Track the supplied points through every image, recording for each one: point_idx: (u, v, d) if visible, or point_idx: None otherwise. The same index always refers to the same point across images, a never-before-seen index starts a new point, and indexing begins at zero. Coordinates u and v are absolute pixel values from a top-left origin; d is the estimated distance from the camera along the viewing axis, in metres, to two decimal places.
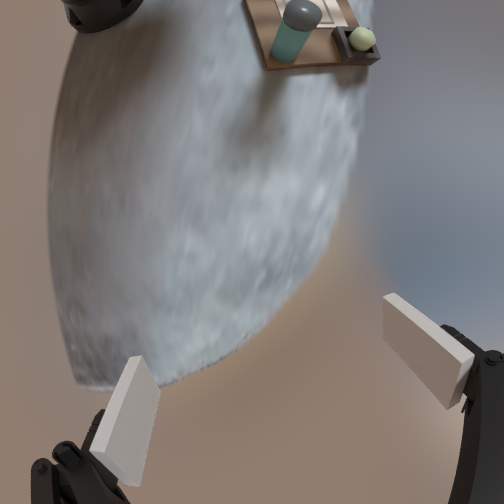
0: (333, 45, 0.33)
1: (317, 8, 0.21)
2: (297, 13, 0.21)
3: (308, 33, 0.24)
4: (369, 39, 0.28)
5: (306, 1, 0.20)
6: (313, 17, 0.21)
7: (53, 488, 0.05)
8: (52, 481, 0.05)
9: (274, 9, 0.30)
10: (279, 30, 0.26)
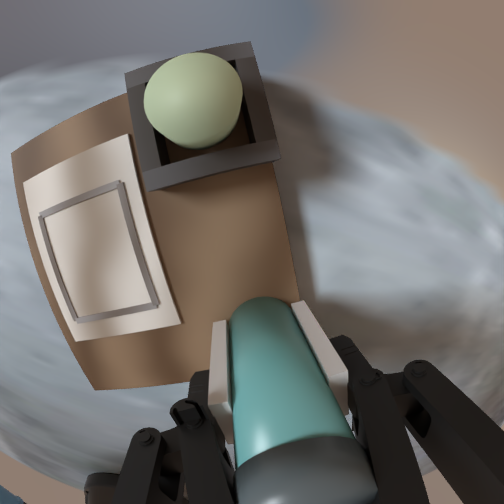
0: (213, 187, 0.14)
1: None
2: None
3: (349, 427, 0.07)
4: (205, 77, 0.08)
5: None
6: None
7: (155, 465, 0.06)
8: (156, 457, 0.07)
9: (120, 342, 0.16)
10: None
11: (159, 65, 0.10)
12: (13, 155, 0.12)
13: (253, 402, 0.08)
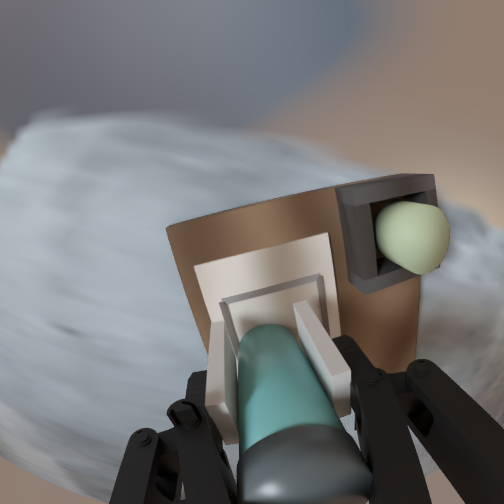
0: None
1: (259, 499, 0.05)
2: None
3: (323, 414, 0.08)
4: (435, 228, 0.12)
5: None
6: (325, 485, 0.05)
7: (152, 465, 0.06)
8: (154, 457, 0.07)
9: None
10: None
11: (379, 187, 0.13)
12: (171, 232, 0.15)
13: (241, 419, 0.09)
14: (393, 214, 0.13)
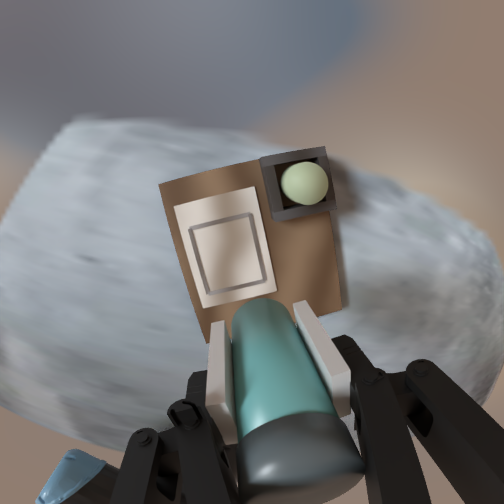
0: (299, 218, 0.27)
1: (253, 489, 0.06)
2: (333, 486, 0.06)
3: (307, 398, 0.09)
4: (313, 176, 0.22)
5: None
6: (310, 473, 0.06)
7: (153, 465, 0.06)
8: (154, 457, 0.07)
9: (236, 305, 0.29)
10: None
11: (280, 155, 0.23)
12: (161, 186, 0.25)
13: (236, 408, 0.10)
14: (287, 170, 0.23)
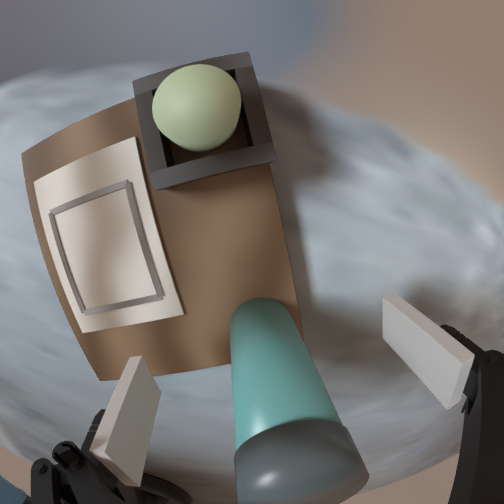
0: (214, 187, 0.15)
1: (252, 498, 0.05)
2: (335, 494, 0.06)
3: (309, 404, 0.08)
4: (208, 87, 0.09)
5: None
6: (312, 482, 0.05)
7: (53, 488, 0.05)
8: (52, 481, 0.05)
9: (126, 332, 0.17)
10: None
11: (164, 74, 0.11)
12: (23, 155, 0.13)
13: (234, 413, 0.10)
14: None
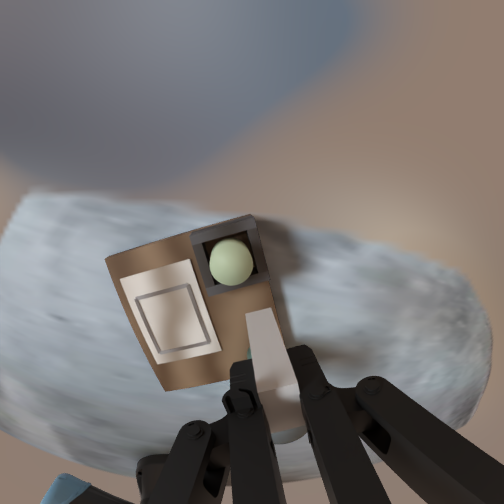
0: None
1: None
2: (297, 429, 0.19)
3: None
4: (236, 257, 0.23)
5: None
6: None
7: (202, 461, 0.07)
8: (205, 452, 0.07)
9: (186, 362, 0.30)
10: None
11: (208, 233, 0.24)
12: (107, 260, 0.26)
13: None
14: (213, 249, 0.24)
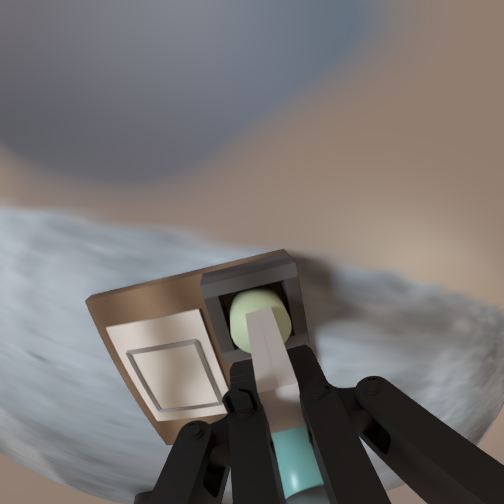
0: None
1: None
2: None
3: (320, 477, 0.14)
4: None
5: None
6: None
7: (202, 461, 0.07)
8: (205, 452, 0.07)
9: (192, 420, 0.22)
10: None
11: (227, 282, 0.17)
12: (88, 303, 0.19)
13: None
14: (235, 304, 0.17)
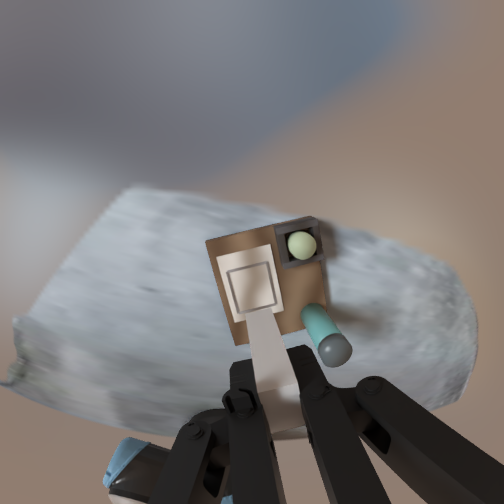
0: None
1: (326, 352, 0.32)
2: (344, 355, 0.33)
3: (335, 330, 0.35)
4: (307, 242, 0.37)
5: (325, 362, 0.33)
6: (339, 346, 0.32)
7: (202, 461, 0.07)
8: (205, 452, 0.07)
9: None
10: None
11: (288, 227, 0.38)
12: (207, 243, 0.40)
13: (314, 337, 0.36)
14: (291, 236, 0.38)
